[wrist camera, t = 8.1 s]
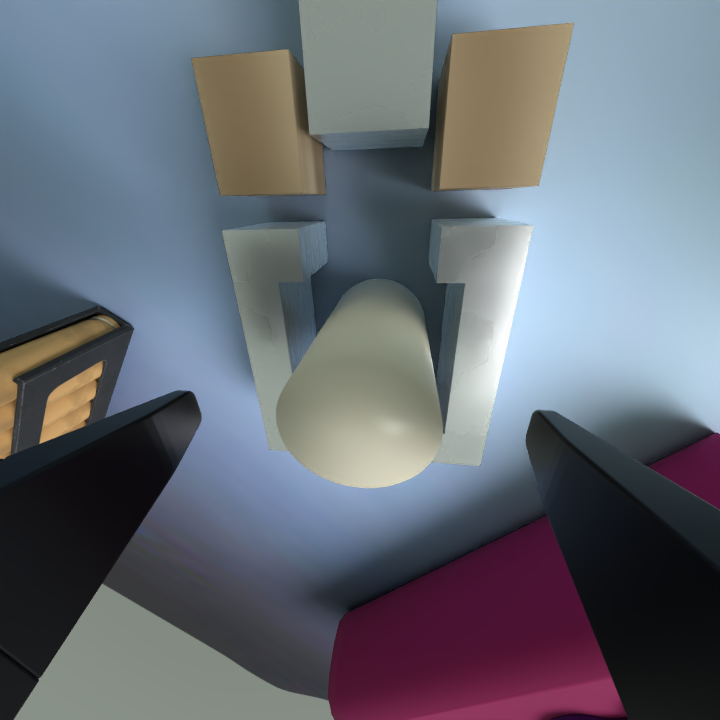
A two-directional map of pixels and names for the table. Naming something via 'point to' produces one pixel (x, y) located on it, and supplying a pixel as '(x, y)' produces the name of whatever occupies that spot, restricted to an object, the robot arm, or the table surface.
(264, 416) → the socket
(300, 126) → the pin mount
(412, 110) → the pin
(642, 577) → the robot arm
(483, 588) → the book
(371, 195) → the table surface
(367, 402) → the cream tapered cylinder
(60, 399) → the ammunition clip
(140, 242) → the table surface
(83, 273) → the table surface
